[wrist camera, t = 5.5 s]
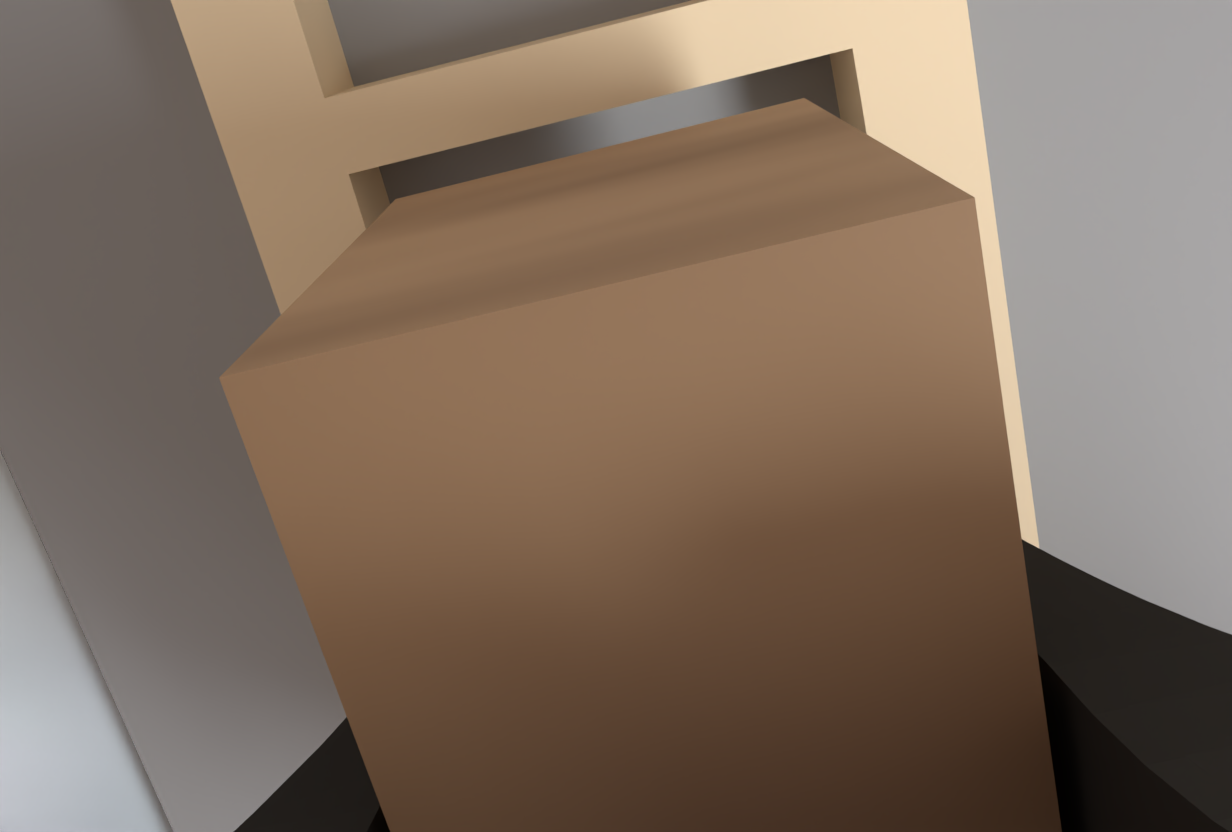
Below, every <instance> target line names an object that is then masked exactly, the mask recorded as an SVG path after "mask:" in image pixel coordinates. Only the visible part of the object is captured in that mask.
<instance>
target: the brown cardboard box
mask: <svg viewBox="0 0 1232 832" xmlns="http://www.w3.org/2000/svg"><path fill="white" fill-rule="evenodd" d="M219 379H220V382H221V384H222V387H223V390H224V392H225V395H226V398H227V400H228V403H229V406H230V408H231V411H232V413H233V416H234V419H235V421H236V424H237V427H238V429H239V432H240V435H241V437H242V440H243V443H244V445H245V448H246V451H247V453H248V456H249V459H250V461H251V464H252V467H253V469H254V472H255V474H256V477H257V480H258V482H259V485H260V488H261V490H262V493H263V496H264V498H265V501H266V504H267V506H268V509H269V512H270V514H271V517H272V520H273V522H274V525H275V528H276V530H277V533H278V536H279V538H280V541H281V543H282V546H283V549H284V551H285V554H286V557H287V559H288V562H289V565H290V567H291V570H292V573H293V575H294V578H295V581H296V583H297V586H298V589H299V591H300V594H301V597H302V599H303V602H304V605H305V607H306V610H307V612H308V615H309V618H310V620H311V623H312V626H313V628H314V631H315V634H316V636H317V639H318V642H319V644H320V647H321V650H322V652H323V655H324V658H325V660H326V663H327V666H328V668H329V671H330V673H331V676H332V679H333V681H334V684H335V687H336V689H337V692H338V695H339V697H340V700H341V703H342V705H343V708H344V711H345V713H346V716H347V719H348V721H349V724H350V727H351V729H352V732H353V735H354V737H355V740H356V742H357V745H358V748H359V750H360V753H361V756H362V758H363V761H364V764H365V766H366V769H367V772H368V774H369V777H370V780H371V782H372V785H373V788H374V790H375V793H376V796H377V798H378V801H379V804H380V806H381V809H382V811H383V814H384V817H385V819H386V822H387V825H388V827H389V830H390V832H1062V829H1061V821H1060V814H1059V807H1058V799H1057V792H1056V785H1055V778H1054V770H1053V763H1052V756H1051V749H1050V741H1049V734H1048V727H1047V719H1046V712H1045V705H1044V698H1043V690H1042V683H1041V676H1040V669H1039V661H1038V654H1037V647H1036V639H1035V632H1034V625H1033V618H1032V610H1031V603H1030V596H1029V589H1028V581H1027V574H1026V567H1025V560H1024V552H1023V545H1022V538H1021V530H1020V523H1019V516H1018V509H1017V501H1016V494H1015V487H1014V480H1013V472H1012V465H1011V458H1010V450H1009V443H1008V436H1007V429H1006V421H1005V414H1004V407H1003V400H1002V392H1001V385H1000V378H999V370H998V363H997V356H996V349H995V341H994V334H993V327H992V320H991V312H990V305H989V298H988V290H987V283H986V276H985V269H984V261H983V254H982V247H981V240H980V232H979V225H978V218H977V211H976V203H975V197H973V196H971V195H970V194H968V193H966V192H965V191H963V190H961V189H959V188H958V187H956V186H954V185H953V184H951V183H949V182H947V181H946V180H944V179H942V178H941V177H939V176H937V175H935V174H934V173H932V172H930V171H929V170H927V169H925V168H923V167H922V166H920V165H918V164H917V163H915V162H913V161H911V160H910V159H908V158H906V157H905V156H903V155H901V154H899V153H898V152H896V151H894V150H893V149H891V148H889V147H887V146H886V145H884V144H882V143H881V142H879V141H877V140H875V139H874V138H872V137H870V136H869V135H867V134H865V133H863V132H862V131H860V130H858V129H857V128H855V127H853V126H851V125H850V124H848V123H846V122H845V121H843V120H841V119H839V118H838V117H836V116H834V115H833V114H831V113H829V112H827V111H826V110H824V109H822V108H821V107H819V106H817V105H816V104H814V103H812V102H810V101H809V100H807V99H805V98H802V99H798V100H794V101H790V102H786V103H782V104H778V105H774V106H770V107H766V108H762V109H758V110H754V111H750V112H745V113H741V114H737V115H733V116H729V117H725V118H721V119H717V120H713V121H709V122H705V123H701V124H697V125H693V126H689V127H685V128H681V129H677V130H673V131H669V132H665V133H661V134H657V135H653V136H649V137H644V138H640V139H636V140H632V141H628V142H624V143H620V144H616V145H612V146H608V147H604V148H600V149H596V150H592V151H588V152H584V153H580V154H576V155H572V156H568V157H564V158H560V159H556V160H552V161H547V162H543V163H539V164H535V165H531V166H527V167H523V168H519V169H515V170H511V171H507V172H503V173H499V174H495V175H491V176H487V177H483V178H479V179H475V180H471V181H467V182H463V183H459V184H455V185H451V186H446V187H442V188H438V189H434V190H430V191H426V192H422V193H418V194H414V195H410V196H406V197H402V198H398V199H395V200H394V201H393V202H392V203H391V204H390V205H389V206H388V207H387V208H386V209H385V210H384V211H383V212H382V213H381V214H380V215H379V216H378V217H377V218H376V220H375V221H374V222H373V223H372V224H371V225H370V226H369V227H368V228H367V229H366V230H365V231H364V232H363V233H362V234H361V235H360V236H359V237H358V238H357V239H356V240H355V241H354V242H353V243H352V244H351V245H350V246H349V247H348V248H347V249H346V250H345V251H344V252H343V253H342V254H341V255H340V256H339V257H338V258H337V259H336V260H335V261H334V262H333V263H332V264H331V265H330V266H329V267H328V268H327V269H326V270H325V271H324V272H323V273H322V274H321V275H320V276H319V277H318V278H317V279H316V280H315V281H314V282H313V283H312V284H311V285H310V286H309V287H308V288H307V289H306V290H305V291H304V292H303V293H302V294H301V295H300V296H299V297H298V298H297V299H296V300H295V301H294V302H293V303H292V304H291V305H290V306H289V307H288V308H287V309H286V310H285V311H284V312H283V313H282V314H281V315H280V316H279V317H278V318H277V319H276V320H275V321H274V323H273V324H272V325H271V326H270V327H269V328H268V329H267V330H266V331H265V332H264V333H263V334H262V335H261V336H260V337H259V338H258V339H257V340H256V341H255V342H254V343H253V344H252V345H251V346H250V347H249V348H248V349H247V350H246V351H245V352H244V353H243V354H242V355H241V356H240V357H239V358H238V359H237V360H236V361H235V362H234V363H233V364H232V365H231V366H230V367H229V368H228V369H227V370H226V371H225V372H224V373H223V374H222V375H221V376H220V377H219Z"/></svg>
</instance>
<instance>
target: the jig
mask: <svg viewBox="0 0 1232 832" xmlns="http://www.w3.org/2000/svg"><path fill="white" fill-rule="evenodd" d="M802 98H805V99H807V100H809V101H810V102H812V103H814V104H816V105H817V106H819V107H821V108H822V109H824V110H826V111H827V112H829V113H831V114H833V115H834V116H836V117H838V118H839V119H841V120H843V121H845V122H846V123H848V124H850V125H851V126H853V127H855V128H857V129H858V130H860V131H862V132H863V133H865V134H867V135H869V136H870V137H872V138H874V139H875V140H877V141H879V142H881V143H882V144H884V145H886V146H887V147H889V148H891V149H893V150H894V151H896V152H898V153H899V154H901V155H903V156H905V157H906V158H908V159H910V160H911V161H913V162H915V163H917V164H918V165H920V166H922V167H923V168H925V169H927V170H929V171H930V172H932V173H934V174H935V175H937V176H939V177H941V178H942V179H944V180H946V181H947V182H949V183H951V184H953V185H954V186H956V187H958V188H959V189H961V190H963V191H965V192H966V193H968V194H970V195H971V196H973V197H975V203H976V211H977V218H978V225H979V232H980V240H981V247H982V254H983V261H984V269H985V276H986V283H987V290H988V298H989V305H990V312H991V320H992V327H993V334H994V341H995V349H996V356H997V363H998V370H999V378H1000V385H1001V392H1002V400H1003V407H1004V414H1005V421H1006V429H1007V436H1008V443H1009V450H1010V458H1011V465H1012V472H1013V480H1014V487H1015V494H1016V501H1017V509H1018V516H1019V523H1020V530H1021V538H1022V540H1024V541H1026V542H1028V543H1030V544H1032V545H1034V546H1036V547H1037V548H1039V549H1041V550H1043V551H1045V552H1047V553H1049V554H1051V555H1053V556H1055V557H1056V558H1058V559H1060V560H1062V561H1064V562H1066V563H1068V564H1070V565H1072V566H1074V567H1076V568H1078V569H1080V570H1082V571H1084V572H1086V573H1088V574H1090V575H1092V576H1094V577H1096V578H1098V579H1100V580H1103V581H1105V582H1107V583H1109V584H1111V585H1113V586H1115V587H1117V588H1120V589H1122V590H1124V591H1126V592H1128V593H1131V594H1133V595H1135V596H1137V597H1139V598H1142V599H1144V600H1146V601H1148V602H1151V603H1153V604H1156V605H1158V606H1161V607H1163V608H1165V609H1168V610H1170V611H1173V612H1175V613H1178V614H1180V615H1182V616H1185V617H1187V618H1190V619H1192V620H1194V621H1197V622H1199V623H1202V624H1204V625H1207V626H1209V627H1212V628H1215V629H1218V630H1220V631H1223V632H1226V633H1229V634H1231V635H1232V0H0V450H1V453H2V455H3V457H4V459H5V461H6V464H7V466H8V468H9V470H10V472H11V475H12V477H13V479H14V481H15V483H16V486H17V488H18V490H19V492H20V494H21V497H22V499H23V501H24V503H25V506H26V508H27V510H28V512H29V514H30V517H31V519H32V521H33V523H34V525H35V528H36V530H37V532H38V534H39V536H40V539H41V541H42V543H43V545H44V547H45V550H46V552H47V554H48V556H49V558H50V561H51V563H52V565H53V567H54V570H55V572H56V574H57V576H58V578H59V581H60V583H61V585H62V587H63V589H64V592H65V594H66V596H67V598H68V600H69V603H70V605H71V607H72V609H73V611H74V614H75V616H76V618H77V620H78V622H79V625H80V627H81V629H82V631H83V634H84V636H85V638H86V640H87V642H88V645H89V647H90V649H91V651H92V653H93V656H94V658H95V660H96V662H97V664H98V667H99V669H100V671H101V673H102V675H103V678H104V680H105V682H106V684H107V686H108V689H109V691H110V693H111V695H112V698H113V700H114V702H115V704H116V706H117V709H118V711H119V713H120V715H121V717H122V720H123V722H124V724H125V726H126V728H127V731H128V733H129V735H130V737H131V739H132V742H133V744H134V746H135V748H136V750H137V753H138V755H139V757H140V759H141V762H142V764H143V766H144V768H145V770H146V773H147V775H148V777H149V779H150V781H151V784H152V786H153V788H154V790H155V792H156V795H157V797H158V799H159V801H160V803H161V806H162V808H163V810H164V812H165V814H166V817H167V819H168V821H169V823H170V826H171V828H172V830H173V832H234V831H235V830H236V829H237V828H238V827H239V826H240V825H241V824H242V823H243V822H244V821H245V820H247V819H248V818H249V817H250V816H251V815H252V814H253V813H254V812H255V811H256V810H257V809H258V808H259V807H260V806H261V805H262V804H263V803H264V802H265V801H266V800H267V799H268V798H269V797H270V796H271V795H272V794H273V793H274V792H275V791H276V790H277V789H278V788H279V787H280V786H281V785H282V784H283V783H284V782H285V781H286V780H287V779H288V778H289V777H290V776H291V775H292V774H293V773H294V772H295V771H296V770H297V769H298V768H299V767H300V766H301V765H302V764H303V763H304V762H305V761H306V760H307V759H308V758H309V757H310V756H311V755H312V754H313V753H314V752H315V751H316V750H317V749H318V748H319V747H320V746H321V745H322V744H323V743H324V741H325V740H326V739H327V738H328V737H329V736H330V735H331V734H332V733H333V732H334V730H335V729H336V728H337V727H338V726H339V725H340V724H341V723H342V722H343V721H344V719H345V718H346V717H347V716H346V713H345V711H344V708H343V705H342V703H341V700H340V697H339V695H338V692H337V689H336V687H335V684H334V681H333V679H332V676H331V673H330V671H329V668H328V666H327V663H326V660H325V658H324V655H323V652H322V650H321V647H320V644H319V642H318V639H317V636H316V634H315V631H314V628H313V626H312V623H311V620H310V618H309V615H308V612H307V610H306V607H305V605H304V602H303V599H302V597H301V594H300V591H299V589H298V586H297V583H296V581H295V578H294V575H293V573H292V570H291V567H290V565H289V562H288V559H287V557H286V554H285V551H284V549H283V546H282V543H281V541H280V538H279V536H278V533H277V530H276V528H275V525H274V522H273V520H272V517H271V514H270V512H269V509H268V506H267V504H266V501H265V498H264V496H263V493H262V490H261V488H260V485H259V482H258V480H257V477H256V474H255V472H254V469H253V467H252V464H251V461H250V459H249V456H248V453H247V451H246V448H245V445H244V443H243V440H242V437H241V435H240V432H239V429H238V427H237V424H236V421H235V419H234V416H233V413H232V411H231V408H230V406H229V403H228V400H227V398H226V395H225V392H224V390H223V387H222V384H221V382H220V379H219V377H220V376H221V375H222V374H223V373H224V372H225V371H226V370H227V369H228V368H229V367H230V366H231V365H232V364H233V363H234V362H235V361H236V360H237V359H238V358H239V357H240V356H241V355H242V354H243V353H244V352H245V351H246V350H247V349H248V348H249V347H250V346H251V345H252V344H253V343H254V342H255V341H256V340H257V339H258V338H259V337H260V336H261V335H262V334H263V333H264V332H265V331H266V330H267V329H268V328H269V327H270V326H271V325H272V324H273V323H274V321H275V320H276V319H277V318H278V317H279V316H280V315H281V314H282V313H283V312H284V311H285V310H286V309H287V308H288V307H289V306H290V305H291V304H292V303H293V302H294V301H295V300H296V299H297V298H298V297H299V296H300V295H301V294H302V293H303V292H304V291H305V290H306V289H307V288H308V287H309V286H310V285H311V284H312V283H313V282H314V281H315V280H316V279H317V278H318V277H319V276H320V275H321V274H322V273H323V272H324V271H325V270H326V269H327V268H328V267H329V266H330V265H331V264H332V263H333V262H334V261H335V260H336V259H337V258H338V257H339V256H340V255H341V254H342V253H343V252H344V251H345V250H346V249H347V248H348V247H349V246H350V245H351V244H352V243H353V242H354V241H355V240H356V239H357V238H358V237H359V236H360V235H361V234H362V233H363V232H364V231H365V230H366V229H367V228H368V227H369V226H370V225H371V224H372V223H373V222H374V221H375V220H376V218H377V217H378V216H379V215H380V214H381V213H382V212H383V211H384V210H385V209H386V208H387V207H388V206H389V205H390V204H391V203H392V202H393V201H394V200H395V199H398V198H402V197H406V196H410V195H414V194H418V193H422V192H426V191H430V190H434V189H438V188H442V187H446V186H451V185H455V184H459V183H463V182H467V181H471V180H475V179H479V178H483V177H487V176H491V175H495V174H499V173H503V172H507V171H511V170H515V169H519V168H523V167H527V166H531V165H535V164H539V163H543V162H547V161H552V160H556V159H560V158H564V157H568V156H572V155H576V154H580V153H584V152H588V151H592V150H596V149H600V148H604V147H608V146H612V145H616V144H620V143H624V142H628V141H632V140H636V139H640V138H644V137H649V136H653V135H657V134H661V133H665V132H669V131H673V130H677V129H681V128H685V127H689V126H693V125H697V124H701V123H705V122H709V121H713V120H717V119H721V118H725V117H729V116H733V115H737V114H741V113H745V112H750V111H754V110H758V109H762V108H766V107H770V106H774V105H778V104H782V103H786V102H790V101H794V100H798V99H802Z"/></svg>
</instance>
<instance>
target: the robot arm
mask: <svg viewBox="0 0 1232 832" xmlns="http://www.w3.org/2000/svg"><path fill="white" fill-rule="evenodd" d="M1022 545H1023V552H1024V560H1025V567H1026V574H1027V581H1028V589H1029V596H1030V603H1031V610H1032V618H1033V625H1034V632H1035V639H1036V647H1037V654H1038V661H1039V669H1040V676H1041V683H1042V690H1043V698H1044V705H1045V712H1046V719H1047V727H1048V734H1049V741H1050V749H1051V756H1052V763H1053V770H1054V778H1055V785H1056V792H1057V799H1058V807H1059V814H1060V821H1061V829H1062V832H1232V635H1231V634H1229V633H1226V632H1223V631H1220V630H1218V629H1215V628H1212V627H1209V626H1207V625H1204V624H1202V623H1199V622H1197V621H1194V620H1192V619H1190V618H1187V617H1185V616H1182V615H1180V614H1178V613H1175V612H1173V611H1170V610H1168V609H1165V608H1163V607H1161V606H1158V605H1156V604H1153V603H1151V602H1148V601H1146V600H1144V599H1142V598H1139V597H1137V596H1135V595H1133V594H1131V593H1128V592H1126V591H1124V590H1122V589H1120V588H1117V587H1115V586H1113V585H1111V584H1109V583H1107V582H1105V581H1103V580H1100V579H1098V578H1096V577H1094V576H1092V575H1090V574H1088V573H1086V572H1084V571H1082V570H1080V569H1078V568H1076V567H1074V566H1072V565H1070V564H1068V563H1066V562H1064V561H1062V560H1060V559H1058V558H1056V557H1055V556H1053V555H1051V554H1049V553H1047V552H1045V551H1043V550H1041V549H1039V548H1037V547H1036V546H1034V545H1032V544H1030V543H1028V542H1026V541H1024V540H1022ZM234 832H390V830H389V827H388V825H387V822H386V819H385V817H384V814H383V811H382V809H381V806H380V804H379V801H378V798H377V796H376V793H375V790H374V788H373V785H372V782H371V780H370V777H369V774H368V772H367V769H366V766H365V764H364V761H363V758H362V756H361V753H360V750H359V748H358V745H357V742H356V740H355V737H354V735H353V732H352V729H351V727H350V724H349V721H348V719H347V717H346V718H345V719H344V721H343V722H342V723H341V724H340V725H339V726H338V727H337V728H336V729H335V730H334V732H333V733H332V734H331V735H330V736H329V737H328V738H327V739H326V740H325V741H324V743H323V744H322V745H321V746H320V747H319V748H318V749H317V750H316V751H315V752H314V753H313V754H312V755H311V756H310V757H309V758H308V759H307V760H306V761H305V762H304V763H303V764H302V765H301V766H300V767H299V768H298V769H297V770H296V771H295V772H294V773H293V774H292V775H291V776H290V777H289V778H288V779H287V780H286V781H285V782H284V783H283V784H282V785H281V786H280V787H279V788H278V789H277V790H276V791H275V792H274V793H273V794H272V795H271V796H270V797H269V798H268V799H267V800H266V801H265V802H264V803H263V804H262V805H261V806H260V807H259V808H258V809H257V810H256V811H255V812H254V813H253V814H252V815H251V816H250V817H249V818H248V819H247V820H245V821H244V822H243V823H242V824H241V825H240V826H239V827H238V828H237V829H236V830H235V831H234Z"/></svg>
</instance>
